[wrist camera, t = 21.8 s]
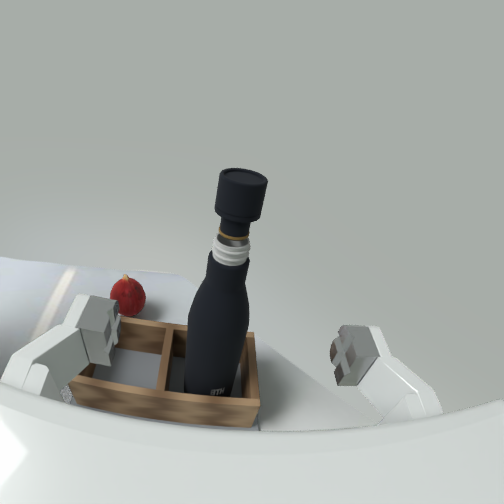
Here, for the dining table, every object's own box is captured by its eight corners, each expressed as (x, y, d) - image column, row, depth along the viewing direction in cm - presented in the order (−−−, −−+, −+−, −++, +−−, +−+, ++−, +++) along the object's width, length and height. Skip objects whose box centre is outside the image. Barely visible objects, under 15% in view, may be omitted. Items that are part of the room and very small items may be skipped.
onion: (152, 310, 52) (152, 273, 48) (133, 331, 47) (130, 293, 43) (125, 297, 53) (123, 260, 49) (105, 316, 48) (100, 278, 44)
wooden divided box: (77, 404, 34) (65, 378, 31) (98, 339, 44) (92, 311, 41) (250, 427, 37) (260, 406, 34) (246, 358, 47) (253, 332, 44)
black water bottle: (203, 365, 44) (235, 158, 29) (239, 390, 42) (297, 182, 26) (173, 391, 40) (186, 170, 24) (211, 419, 37) (255, 199, 21)
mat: (69, 409, 33) (68, 408, 33) (94, 335, 45) (94, 333, 44) (258, 435, 37) (258, 434, 36) (252, 355, 48) (252, 354, 48)
